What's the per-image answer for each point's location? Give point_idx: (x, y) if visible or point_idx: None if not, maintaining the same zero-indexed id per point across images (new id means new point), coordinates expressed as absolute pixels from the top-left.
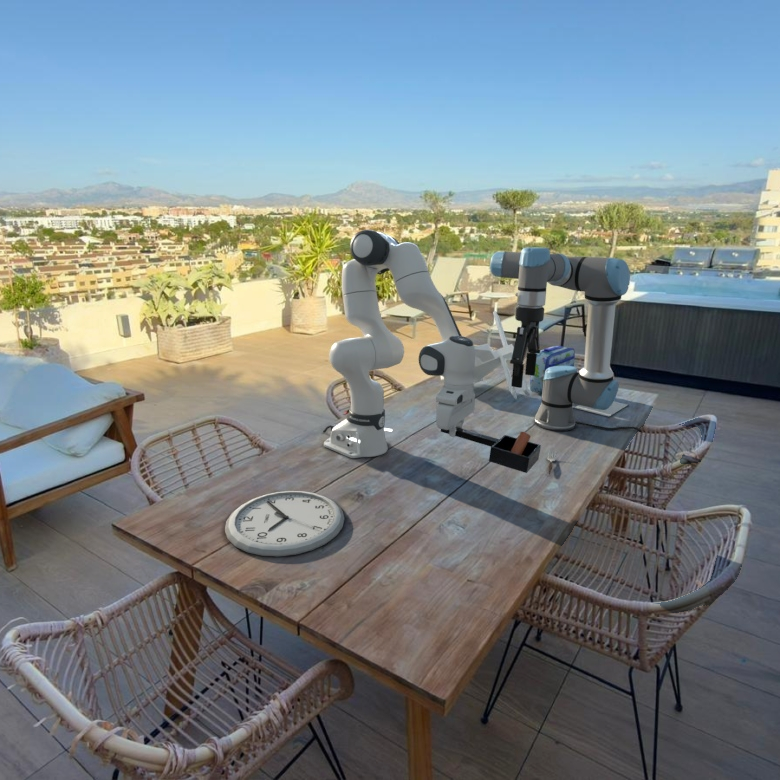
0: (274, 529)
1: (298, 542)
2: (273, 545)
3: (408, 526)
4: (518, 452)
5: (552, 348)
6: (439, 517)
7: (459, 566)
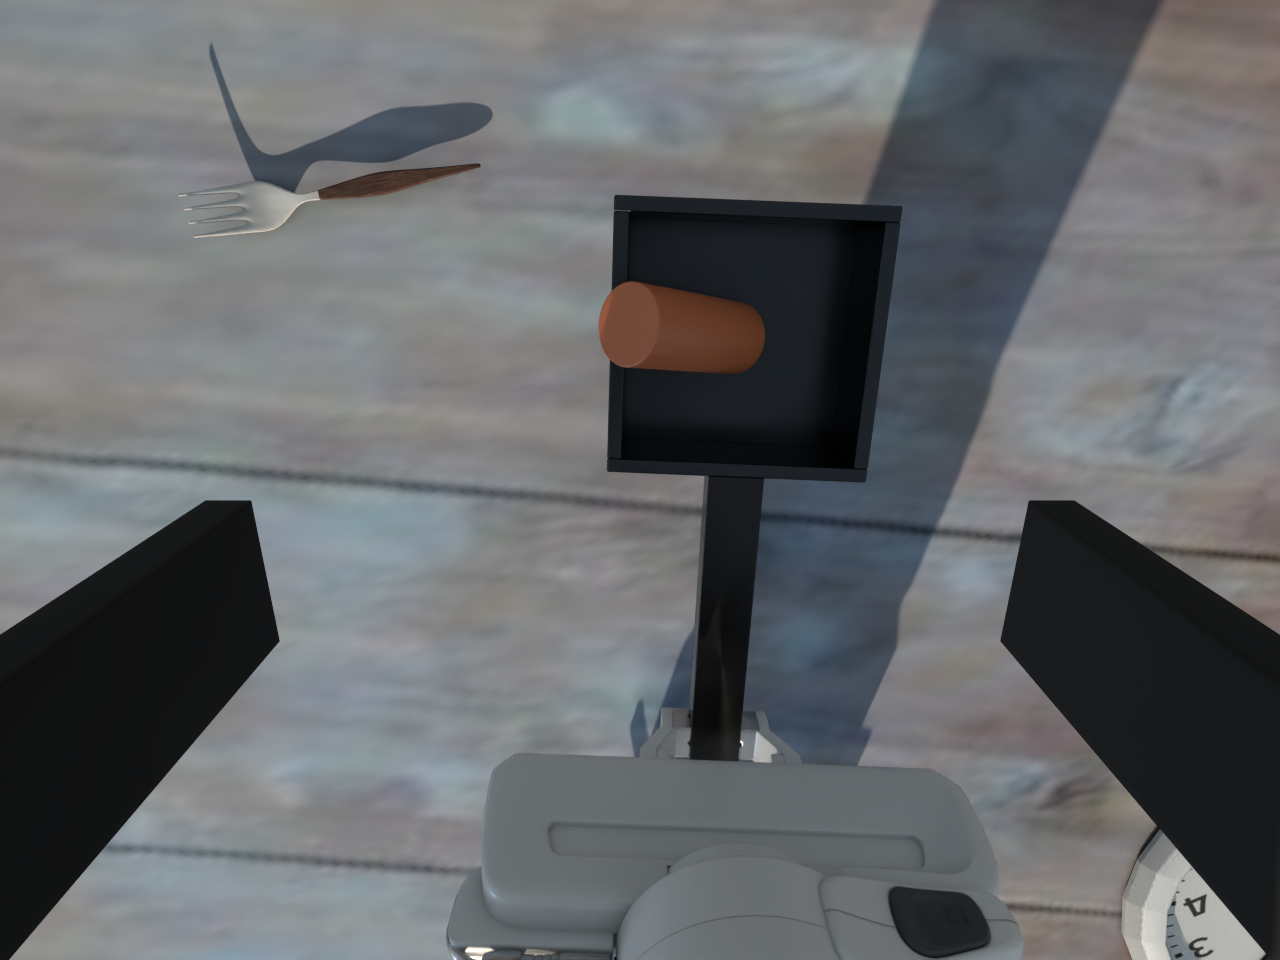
0: None
1: None
2: None
3: (1230, 566)
4: (753, 318)
5: None
6: (1125, 495)
7: None
